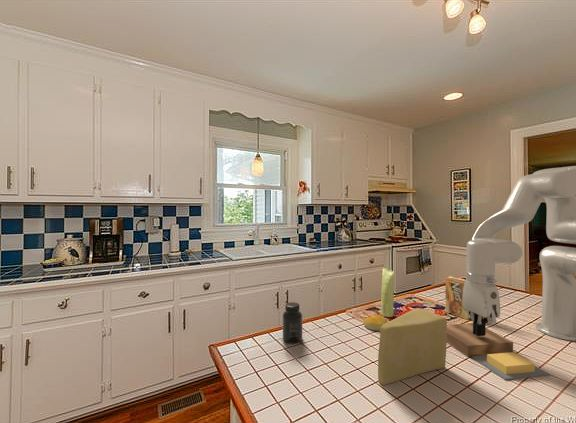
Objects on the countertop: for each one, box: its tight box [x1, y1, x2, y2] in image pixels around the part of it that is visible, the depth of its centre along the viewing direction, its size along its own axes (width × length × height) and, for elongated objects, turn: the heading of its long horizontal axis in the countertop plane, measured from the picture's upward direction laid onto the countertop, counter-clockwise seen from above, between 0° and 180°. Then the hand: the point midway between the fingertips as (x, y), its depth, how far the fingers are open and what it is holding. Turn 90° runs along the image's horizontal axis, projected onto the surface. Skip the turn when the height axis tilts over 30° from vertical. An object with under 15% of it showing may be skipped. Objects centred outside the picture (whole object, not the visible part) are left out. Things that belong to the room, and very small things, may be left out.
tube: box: [380, 267, 395, 318], centre depth 113 cm, size 6×5×20 cm
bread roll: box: [362, 314, 388, 332], centre depth 103 cm, size 8×9×4 cm
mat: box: [471, 355, 550, 381], centre depth 78 cm, size 14×11×1 cm
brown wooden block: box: [447, 322, 514, 358], centre depth 90 cm, size 16×14×4 cm
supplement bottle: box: [282, 301, 303, 344], centre depth 93 cm, size 7×7×12 cm
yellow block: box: [487, 351, 536, 374], centre depth 77 cm, size 9×6×2 cm, turn 98°
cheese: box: [377, 307, 448, 386], centre depth 75 cm, size 22×10×15 cm, turn 120°
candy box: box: [445, 276, 471, 320], centre depth 114 cm, size 9×4×15 cm, turn 33°
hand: (479, 334), depth 87 cm, fingers closed
